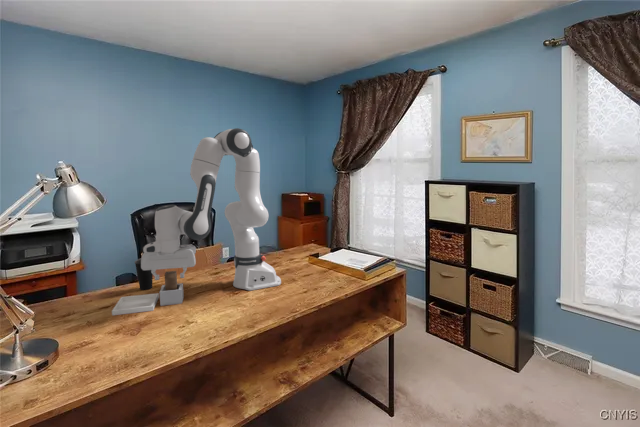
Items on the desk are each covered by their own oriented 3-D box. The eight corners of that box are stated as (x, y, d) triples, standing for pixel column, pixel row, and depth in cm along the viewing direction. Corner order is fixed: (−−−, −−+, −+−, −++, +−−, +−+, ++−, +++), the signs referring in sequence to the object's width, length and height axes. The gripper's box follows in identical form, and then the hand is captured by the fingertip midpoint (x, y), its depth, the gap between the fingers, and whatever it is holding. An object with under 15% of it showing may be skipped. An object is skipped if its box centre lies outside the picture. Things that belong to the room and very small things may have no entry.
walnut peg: (178, 298, 144) (176, 270, 142) (177, 302, 140) (175, 273, 138) (167, 299, 142) (165, 271, 141) (166, 303, 139) (164, 274, 137)
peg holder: (183, 297, 146) (182, 283, 145) (182, 305, 139) (181, 289, 138) (163, 300, 144) (162, 285, 143) (160, 307, 136) (159, 292, 135)
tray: (158, 298, 145) (158, 293, 145) (153, 312, 132) (152, 306, 132) (121, 302, 141) (121, 297, 141) (112, 317, 128) (111, 311, 128)
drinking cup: (148, 293, 151) (144, 249, 148) (133, 292, 153) (129, 248, 150) (159, 287, 158) (156, 245, 155) (144, 286, 160) (141, 244, 157)
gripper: (196, 242, 144) (197, 274, 145) (142, 245, 138) (144, 278, 140) (195, 245, 138) (196, 278, 140) (138, 248, 132) (140, 283, 134)
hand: (169, 278), depth 139 cm, fingers open, 8 cm apart
